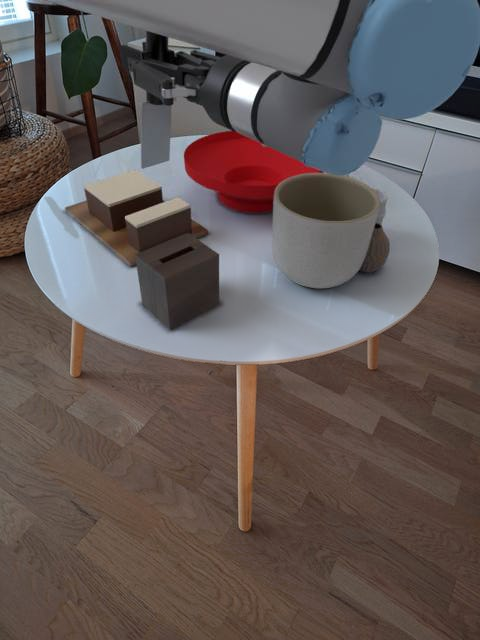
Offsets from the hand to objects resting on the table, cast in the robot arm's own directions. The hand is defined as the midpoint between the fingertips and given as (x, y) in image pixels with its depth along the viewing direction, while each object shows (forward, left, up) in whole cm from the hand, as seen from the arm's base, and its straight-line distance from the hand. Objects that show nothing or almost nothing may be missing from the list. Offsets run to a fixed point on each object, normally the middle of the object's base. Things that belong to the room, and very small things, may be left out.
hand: (134, 54), depth 64 cm
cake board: (-5, +14, -34) cm, 37 cm away
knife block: (+4, -13, -34) cm, 37 cm away
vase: (+39, -5, -34) cm, 52 cm away
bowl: (+21, +24, -34) cm, 47 cm away
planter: (+29, -6, -34) cm, 45 cm away
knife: (+1, -2, -15) cm, 15 cm away
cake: (-7, +16, -33) cm, 37 cm away
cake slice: (+1, +6, -33) cm, 33 cm away
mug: (+39, +6, -34) cm, 52 cm away
